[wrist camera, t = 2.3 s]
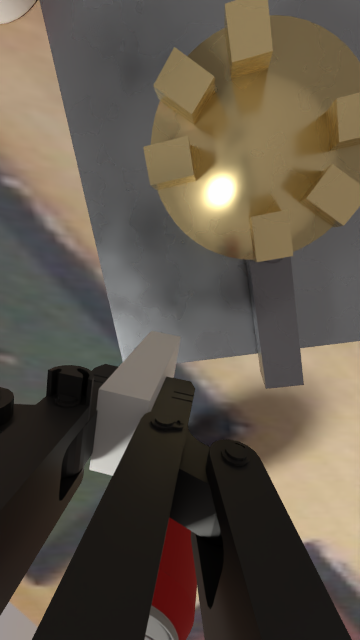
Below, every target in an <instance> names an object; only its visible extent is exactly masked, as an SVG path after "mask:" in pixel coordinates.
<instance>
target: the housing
mask: <svg viewBox="0 0 360 640" xmlns="http://www.w3.org/2000/svg"><path fill="white" fill-rule="evenodd" d="M232 1H235V0H40V4H41V9H42V13H43V17H44V22H45V26H46V30H47V35H48V39H49V43H50V48H51V52H52V56H53V61H54V65H55V69H56V74H57V78H58V82H59V87H60V91H61V95H62V100H63V104H64V108H65V113H66V117H67V121H68V126H69V130H70V134H71V139H72V143H73V147H74V152H75V156H76V160H77V165H78V169H79V173H80V178H81V182H82V186H83V191H84V195H85V199H86V204H87V208H88V212H89V217H90V221H91V225H92V230H93V234H94V238H95V243H96V247H97V251H98V256H99V260H100V264H101V269H102V273H103V277H104V282H105V286H106V290H107V295H108V299H109V303H110V308H111V312H112V316H113V321H114V325H115V329H116V334H117V338H118V342H119V347H120V351H121V355H122V360H123V362H124V360H125V359H126V358H127V357H128V356H129V355H130V354H131V353H132V352H133V350H134V349H135V348H136V347H137V346H138V345H139V344H140V343H141V342H142V340H143V339H144V338H145V337H146V336H147V335H148V334H149V333H150V332H151V331H155V332H160V333H165V334H170V335H175V336H180V337H181V339H180V345H179V350H178V356H177V361H176V363H183V362H191V361H199V360H207V359H216V358H224V357H232V356H240V355H248V354H256V353H258V349H257V342H256V334H255V326H254V319H253V311H252V304H251V296H250V289H249V281H248V273H247V266H246V260H245V259H237V258H231V257H227V256H224V255H220V254H217V253H215V252H213V251H211V250H208V249H206V248H204V247H203V246H201V245H200V244H198V243H196V242H195V241H194V240H192V239H191V238H190V237H189V236H188V235H186V234H185V233H184V232H183V231H182V230H181V229H180V228H179V226H178V225H177V224H176V223H175V222H174V220H173V219H172V218H171V216H170V215H169V213H168V212H167V210H166V208H165V206H164V204H163V202H162V201H161V198H160V196H159V193H158V190H155V189H154V188H153V187H152V186H151V185H150V181H149V176H148V170H147V165H146V160H145V154H144V149H143V147H144V146H148V145H151V136H152V127H153V123H154V119H155V114H156V111H157V108H158V105H159V102H160V100H159V99H158V96H157V94H156V92H155V89H154V87H153V85H154V83H155V81H156V80H157V78H158V76H159V74H160V72H161V70H162V69H163V67H164V65H165V63H166V61H167V60H168V58H169V56H170V54H171V52H172V50H173V49H174V47H175V48H177V49H178V50H179V51H181V52H182V53H183V54H185V55H186V56H188V55H189V54H190V53H191V52H192V51H193V50H194V49H195V48H196V47H197V46H198V45H199V44H200V43H202V42H203V41H205V40H206V39H207V38H209V37H210V36H211V35H213V34H214V33H216V32H218V31H220V30H221V29H223V28H225V27H224V19H225V4H226V3H229V2H232ZM268 6H269V16H270V15H281V16H292V17H296V18H300V19H304V20H308V21H310V22H313V23H315V24H317V25H320V26H322V27H323V28H325V29H327V30H328V31H330V32H331V33H333V34H334V35H336V36H337V37H338V38H339V39H340V40H341V41H342V42H344V43H345V44H346V45H347V46H348V47H349V49H350V50H351V51H352V52H353V54H354V55H355V56H356V57H357V59H358V60H359V62H360V0H268ZM291 264H292V274H293V284H294V294H295V304H296V314H297V324H298V333H299V343H300V348H305V347H313V346H322V345H330V344H338V343H346V342H354V341H360V207H359V208H358V209H357V210H356V212H355V213H354V214H353V215H352V216H351V218H350V219H349V220H348V221H347V223H346V224H345V225H344V226H340V227H335V228H334V227H332V228H330V229H329V230H328V231H327V232H326V233H325V234H324V235H322V236H321V237H319V238H318V239H316V240H315V241H313V242H312V243H310V244H308V245H306V246H304V247H303V248H301V249H299V250H296V251H294V252H293V256H291Z"/></svg>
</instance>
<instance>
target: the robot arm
mask: <svg viewBox="0 0 360 640" xmlns="http://www.w3.org/2000/svg"><path fill="white" fill-rule="evenodd" d="M180 339H181V337H180V336H175V335H170V334H165V333H160V332H155V331H151V332H150V333H149V334H148V335H147V336H146V337H145V338H144V339H143V340H142V342H141V343H140V344H139V345H138V346H137V347H136V348H135V349H134V350H133V352H132V353H131V354H130V355H129V356H128V357H127V358H126V359H125V360H124V362H123V363H122V364H121V365H120V366H119V367H117V366H112V365H108V364H104V365H101V366H98V367H96V368H94V369H93V370H92V371H90V370H89V369H87V368H84V367H81V366H73V365H65V366H58V367H54V368H52V369H49V370H48V379H47V393H46V397H45V398H43V399H42V400H41V401H40V402H39V403H37V404H36V405H23V404H14V395H13V392H11V391H10V390H8V389H5V388H1V387H0V615H1V613H2V612H3V610H4V609H5V607H6V605H7V604H8V602H9V600H10V599H11V597H12V595H13V594H14V592H15V590H16V589H17V587H18V586H19V584H20V582H21V581H22V579H23V577H24V576H25V574H26V572H27V571H28V569H29V567H30V566H31V564H32V562H33V561H34V559H35V558H36V556H37V554H38V553H39V551H40V549H41V548H42V546H43V544H44V543H45V541H46V539H47V538H48V536H49V535H50V533H51V531H52V530H53V528H54V526H55V525H56V523H57V521H58V520H59V518H60V516H61V515H62V513H63V511H64V510H65V508H66V507H67V505H68V503H69V502H70V500H71V498H72V497H73V495H74V493H75V492H76V490H77V488H78V487H79V485H80V484H81V481H82V478H83V474H84V465H85V464H86V462H87V461H88V459H89V457H90V456H91V460H90V469H89V470H93V471H97V472H101V473H104V474H108V475H112V478H111V480H110V482H109V484H108V486H107V488H106V490H105V492H104V495H103V497H102V499H101V501H100V503H99V505H98V507H97V509H96V511H95V513H94V515H93V517H92V519H91V521H90V523H89V525H88V527H87V529H86V531H85V533H84V535H83V537H82V539H81V541H80V543H79V545H78V547H77V549H76V551H75V553H74V555H73V557H72V559H71V561H70V563H69V565H68V567H67V570H66V572H65V574H64V576H63V578H62V580H61V582H60V584H59V586H58V588H57V590H56V592H55V594H54V596H53V598H52V600H51V602H50V604H49V606H48V608H47V610H46V612H45V614H44V616H43V618H42V620H41V622H40V624H39V626H38V628H37V630H36V633H35V634H34V637H33V638H32V640H145V635H146V630H147V625H148V620H149V615H150V610H151V605H152V600H153V595H154V590H155V585H156V581H157V576H158V571H159V566H160V561H161V556H162V551H163V546H164V541H165V536H166V531H167V526H168V522H169V517H170V518H171V519H173V520H174V521H176V522H178V523H179V524H181V525H182V526H184V527H186V528H187V529H189V530H190V531H191V543H192V551H193V558H194V565H195V572H196V579H197V587H198V594H199V601H200V608H201V615H202V623H203V630H204V637H205V640H352V639H351V637H350V635H349V633H348V631H347V629H346V628H345V626H344V624H343V622H342V620H341V618H340V616H339V614H338V612H337V610H336V608H335V606H334V604H333V602H332V600H331V598H330V596H329V594H328V592H327V590H326V588H325V586H324V584H323V582H322V580H321V578H320V576H319V574H318V572H317V570H316V568H315V566H314V564H313V562H312V560H311V558H310V556H309V554H308V552H307V550H306V548H305V546H304V544H303V542H302V540H301V538H300V536H299V534H298V532H297V530H296V529H295V527H294V525H293V523H292V521H291V519H290V517H289V515H288V513H287V511H286V509H285V507H284V505H283V503H282V501H281V499H280V497H279V495H278V493H277V491H276V489H275V487H274V485H273V483H272V481H271V479H270V477H269V475H268V473H267V471H266V469H265V467H264V465H263V463H262V461H261V459H260V458H259V456H258V455H257V454H256V452H255V451H254V450H252V449H251V448H250V447H248V446H247V445H245V444H243V443H241V442H238V441H233V440H219V441H216V442H214V443H213V444H212V445H211V447H209V446H207V445H204V444H203V443H201V442H199V441H198V440H197V439H195V438H194V437H193V436H192V435H191V433H190V432H189V429H188V422H189V417H190V412H191V407H192V401H193V396H194V391H195V388H194V386H193V384H192V383H191V382H190V381H185V380H181V379H176V378H174V372H175V367H176V361H177V356H178V350H179V345H180Z"/></svg>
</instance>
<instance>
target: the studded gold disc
mask: <svg viewBox="0 0 360 640" xmlns="http://www.w3.org/2000/svg"><path fill="white" fill-rule="evenodd" d="M224 27H225V28H223V29H221V30H220V31H218V32H216V33H214V34H213V35H211V36H210V37H209V38H207V39H206V40H205V41H203V42H202V43H200V44H199V45H198V46H197V47H196V48H195V49H194V50H193V51H192V52H191V53H190V54H189V55H188V56H186V55H185V54H183V53H182V52H181V51H179V50H178V49H177V48H175V47H174V49H173V50H172V52H171V54H170V56H169V58H168V60H167V61H166V63H165V65H164V67H163V69H162V70H161V72H160V74H159V76H158V78H157V80H156V81H155V83H154V85H153V87H154V89H155V92H156V94H157V96H158V99H159V100H160V102H159V105H158V108H157V111H156V114H155V119H154V123H153V127H152V136H151V145H148V146H144V147H143V149H144V154H145V160H146V165H147V170H148V176H149V181H150V185H151V186H152V187H153V188H154V189H155V190H158V193H159V196H160V198H161V201H162V202H163V204H164V206H165V208H166V210H167V212H168V213H169V215H170V216H171V218H172V219H173V220H174V222H175V223H176V224H177V225H178V226H179V228H180V229H181V230H182V231H183V232H184V233H185V234H186V235H188V236H189V237H190V238H191V239H192V240H194V241H195V242H196V243H198V244H200V245H201V246H203V247H204V248H206V249H208V250H211V251H213V252H215V253H217V254H220V255H224V256H227V257H231V258H237V259H245V260H246V266H247V273H248V281H249V289H250V296H251V304H252V311H253V319H254V326H255V334H256V342H257V349H258V357H259V364H260V372H261V375H262V378H263V381H264V384H265V388H266V389H267V388H277V387H287V386H297V385H304V383H303V373H302V363H301V353H300V343H299V333H298V324H297V314H296V304H295V294H294V284H293V274H292V264H291V256H293V252H294V251H296V250H299V249H301V248H303V247H304V246H306V245H308V244H310V243H312V242H313V241H315V240H316V239H318V238H319V237H321V236H322V235H324V234H325V233H326V232H327V231H328V230H329V229H330V228H332V227H334V228H335V227H340V226H344V225H345V224H346V223H347V221H348V220H349V219H350V218H351V216H352V215H353V214H354V213H355V212H356V210H357V209H358V208H359V207H360V62H359V60H358V59H357V57H356V56H355V55H354V54H353V52H352V51H351V50H350V49H349V47H348V46H347V45H346V44H345V43H344V42H342V41H341V40H340V39H339V38H338V37H337V36H336V35H334V34H333V33H331V32H330V31H328V30H327V29H325V28H323V27H322V26H320V25H317V24H315V23H313V22H310V21H308V20H304V19H300V18H296V17H292V16H281V15H270V16H269V6H268V0H235V1H232V2H229V3H226V4H225V19H224Z"/></svg>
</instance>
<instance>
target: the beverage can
mask: <svg viewBox="0 0 360 640" xmlns="http://www.w3.org/2000/svg"><path fill="white" fill-rule="evenodd" d="M196 590H197V579H196V572H195V565H194V558H193V551H192V543H191V531H190V530H189V529H187V528H186V527H184V526H182V525H181V524H179V523H178V522H176V521H174V520H173V519H171V518H170V517H169V522H168V526H167V531H166V536H165V541H164V546H163V551H162V556H161V561H160V566H159V571H158V576H157V581H156V585H155V590H154V595H153V600H152V605H151V610H150V615H149V620H148V625H147V630H146V635H145V640H186V638H187V637H188V635H189V633H190V631H191V629H192V626H193V622H194V614H195V602H196Z"/></svg>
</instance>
